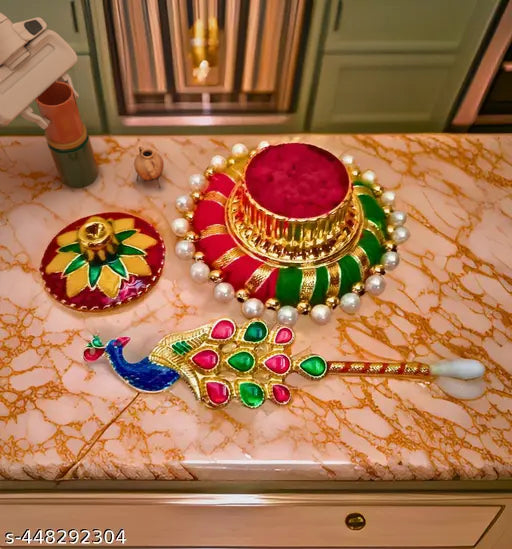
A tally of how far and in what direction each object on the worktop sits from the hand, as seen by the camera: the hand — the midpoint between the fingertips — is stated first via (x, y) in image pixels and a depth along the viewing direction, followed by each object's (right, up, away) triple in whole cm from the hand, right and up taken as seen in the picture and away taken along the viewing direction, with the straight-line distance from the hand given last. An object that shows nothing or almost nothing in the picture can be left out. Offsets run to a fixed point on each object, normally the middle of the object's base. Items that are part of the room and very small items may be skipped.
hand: (62, 112), depth 107 cm
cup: (-1, -2, +4) cm, 5 cm away
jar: (-1, -9, +14) cm, 17 cm away
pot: (+14, -10, +14) cm, 22 cm away
